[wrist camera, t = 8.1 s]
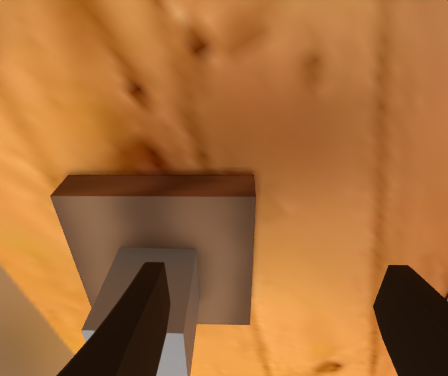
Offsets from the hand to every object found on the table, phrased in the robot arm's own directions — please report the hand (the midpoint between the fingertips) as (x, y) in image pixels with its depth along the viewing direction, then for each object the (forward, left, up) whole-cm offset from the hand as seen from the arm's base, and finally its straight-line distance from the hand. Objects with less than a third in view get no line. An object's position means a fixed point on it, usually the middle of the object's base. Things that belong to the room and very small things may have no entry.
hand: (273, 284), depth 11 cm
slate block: (+6, +9, -8) cm, 13 cm away
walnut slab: (+6, +8, -11) cm, 15 cm away
